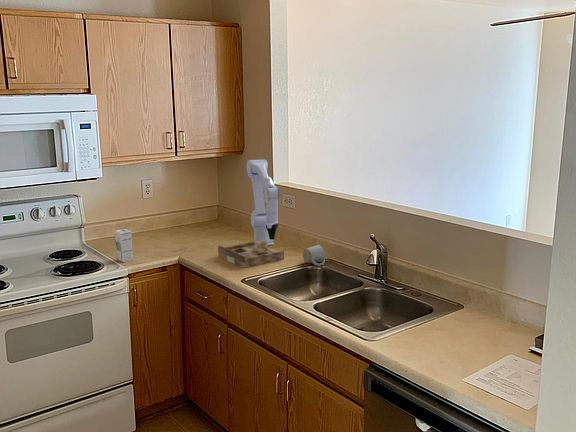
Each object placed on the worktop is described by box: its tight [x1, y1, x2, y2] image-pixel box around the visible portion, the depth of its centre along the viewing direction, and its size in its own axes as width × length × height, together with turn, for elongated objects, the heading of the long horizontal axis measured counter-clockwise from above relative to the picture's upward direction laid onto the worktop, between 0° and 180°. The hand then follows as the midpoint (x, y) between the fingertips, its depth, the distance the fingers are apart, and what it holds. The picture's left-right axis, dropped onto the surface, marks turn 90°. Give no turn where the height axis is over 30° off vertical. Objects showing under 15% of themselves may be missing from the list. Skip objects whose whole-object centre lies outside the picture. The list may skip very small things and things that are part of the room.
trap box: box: [217, 241, 285, 269], centre depth 274 cm, size 23×22×6 cm
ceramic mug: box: [302, 244, 326, 267], centre depth 267 cm, size 11×8×8 cm
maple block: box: [254, 240, 269, 252], centre depth 278 cm, size 4×4×4 cm
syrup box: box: [114, 228, 134, 263], centre depth 269 cm, size 6×6×14 cm
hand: (272, 239), depth 281 cm, fingers closed
